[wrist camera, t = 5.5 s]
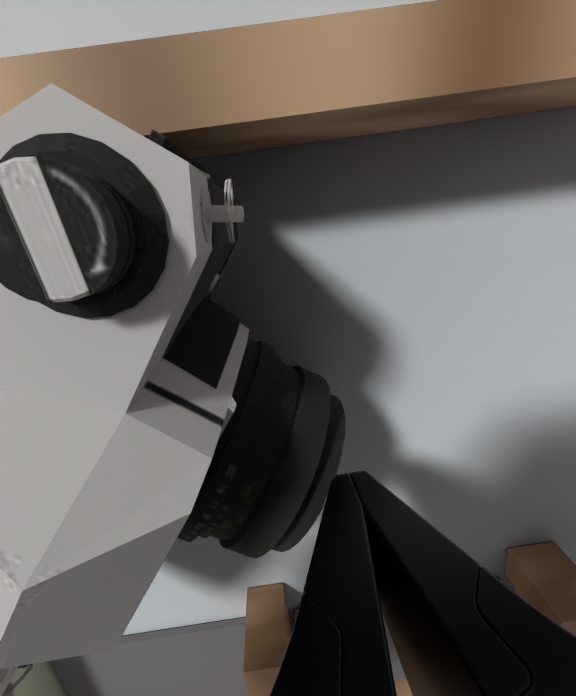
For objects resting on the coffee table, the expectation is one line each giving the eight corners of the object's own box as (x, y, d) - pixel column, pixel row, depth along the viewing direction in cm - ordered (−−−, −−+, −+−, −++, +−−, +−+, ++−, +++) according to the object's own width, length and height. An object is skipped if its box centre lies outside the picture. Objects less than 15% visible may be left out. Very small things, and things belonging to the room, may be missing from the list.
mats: (499, 578, 16) (503, 584, 16) (492, 656, 18) (496, 663, 17) (49, 647, 16) (45, 655, 15) (87, 720, 17) (84, 728, 17)
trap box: (626, 34, 10) (777, -44, 7) (535, 671, 18) (585, 754, 15) (-277, 156, 9) (-516, 125, 6) (63, 746, 18) (25, 845, 15)
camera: (218, 561, 15) (177, 999, 6) (16, 503, 13) (-421, 985, 5) (369, 264, 12) (655, 302, 4) (143, 147, 11) (-294, -274, 2)
